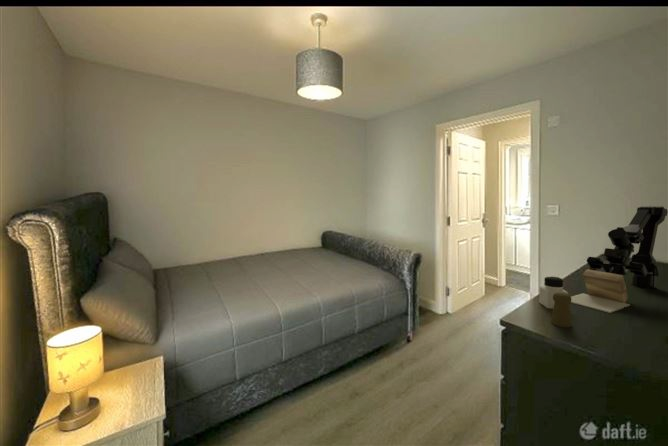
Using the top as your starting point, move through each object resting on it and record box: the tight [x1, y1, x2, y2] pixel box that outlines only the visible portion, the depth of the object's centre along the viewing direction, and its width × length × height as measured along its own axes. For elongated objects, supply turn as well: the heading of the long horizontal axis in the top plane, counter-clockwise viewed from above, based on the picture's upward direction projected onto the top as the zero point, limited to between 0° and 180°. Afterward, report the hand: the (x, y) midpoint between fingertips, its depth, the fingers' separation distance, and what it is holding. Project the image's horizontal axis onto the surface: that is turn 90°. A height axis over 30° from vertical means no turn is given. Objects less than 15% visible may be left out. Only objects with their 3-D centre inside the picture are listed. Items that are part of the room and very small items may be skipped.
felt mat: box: [570, 292, 631, 314], centre depth 121 cm, size 16×16×1 cm
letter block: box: [582, 268, 629, 303], centre depth 123 cm, size 4×12×12 cm
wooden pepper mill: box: [550, 293, 573, 328], centre depth 102 cm, size 6×6×11 cm
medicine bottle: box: [538, 275, 569, 310], centre depth 118 cm, size 7×7×12 cm
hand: (607, 281), depth 124 cm, fingers closed
